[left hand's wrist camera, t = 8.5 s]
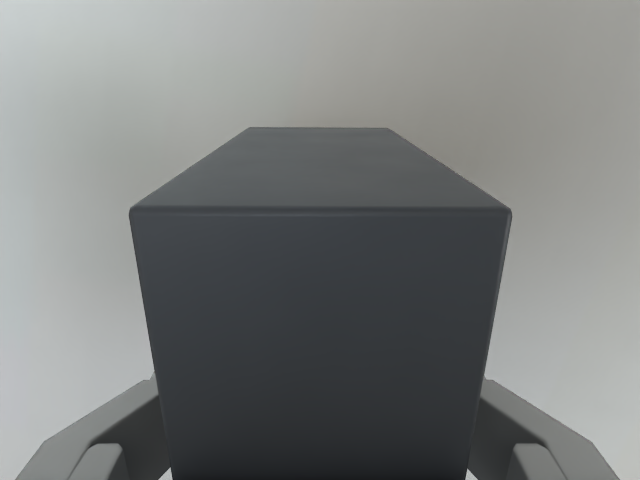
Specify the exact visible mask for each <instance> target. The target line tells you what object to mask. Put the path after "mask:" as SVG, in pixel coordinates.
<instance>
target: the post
mask: <svg viewBox="0 0 640 480" xmlns="http://www.w3.org/2000/svg"><path fill="white" fill-rule="evenodd" d="M129 219H130V225H131V231H132V237H133V243H134V249H135V255H136V261H137V267H138V273H139V279H140V286H141V292H142V298H143V304H144V310H145V316H146V322H147V328H148V334H149V340H150V346H151V352H152V358H153V364H154V370H155V376H156V382H157V388H158V394H159V400H160V406H161V412H162V418H163V424H164V430H165V436H166V442H167V448H168V454H169V460H170V466H171V472H172V478H173V480H465V478H466V472H467V467H468V461H469V456H470V450H471V444H472V439H473V433H474V428H475V422H476V416H477V411H478V405H479V400H480V394H481V388H482V383H483V377H484V372H485V366H486V360H487V355H488V349H489V344H490V338H491V332H492V327H493V321H494V316H495V310H496V304H497V299H498V293H499V288H500V282H501V276H502V271H503V265H504V260H505V254H506V248H507V243H508V237H509V232H510V226H511V221H512V212H511V209H510V208H508V207H507V206H505V205H504V204H502V203H501V202H499V201H498V200H496V199H495V198H493V197H492V196H490V195H489V194H487V193H486V192H484V191H483V190H481V189H480V188H478V187H477V186H475V185H474V184H472V183H471V182H469V181H468V180H466V179H465V178H463V177H462V176H460V175H458V174H457V173H455V172H454V171H452V170H451V169H449V168H448V167H446V166H445V165H443V164H442V163H440V162H439V161H437V160H436V159H434V158H433V157H431V156H430V155H428V154H427V153H425V152H424V151H422V150H421V149H419V148H418V147H416V146H415V145H413V144H412V143H410V142H409V141H407V140H406V139H404V138H402V137H401V136H399V135H398V134H396V133H395V132H393V131H392V130H390V129H388V128H278V127H250V128H247V129H246V130H245V131H243V132H242V133H240V134H239V135H237V136H236V137H234V138H233V139H231V140H230V141H228V142H227V143H225V144H224V145H222V146H221V147H219V148H218V149H216V150H215V151H213V152H212V153H210V154H209V155H208V156H206V157H205V158H203V159H202V160H200V161H199V162H197V163H196V164H194V165H193V166H191V167H190V168H188V169H187V170H185V171H184V172H182V173H181V174H179V175H178V176H176V177H175V178H173V179H172V180H170V181H169V182H168V183H166V184H165V185H163V186H162V187H160V188H159V189H157V190H156V191H154V192H153V193H151V194H150V195H148V196H147V197H145V198H144V199H142V200H141V201H139V202H138V203H136V204H135V205H133V206H132V207H131V208H130V211H129Z"/></svg>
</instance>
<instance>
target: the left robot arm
mask: <svg viewBox="0 0 640 480" xmlns="http://www.w3.org/2000/svg"><path fill="white" fill-rule="evenodd" d="M170 467H171V466H170V460H169V454H168V448H167V442H166V436H165V430H164V424H163V418H162V412H161V406H160V400H159V394H158V388H157V382H156V376H155V371H154V373H153V375H152V377H151V378H150V380H143V381H141V382H140V383H138V384H136V385H135V386H133V387H131V388H130V389H128V390H127V391H125V392H123V393H122V394H120V395H119V396H117V397H115V398H114V399H112V400H110V401H109V402H107V403H106V404H104V405H102V406H101V407H99V408H97V409H96V410H94V411H93V412H91V413H89V414H88V415H86V416H85V417H83V418H81V419H80V420H78V421H76V422H75V423H73V424H72V425H70V426H68V427H67V428H65V429H64V430H62V431H60V432H59V433H57V434H55V435H54V436H52V437H51V438H49V439H47V440H46V441H44V442H43V444H42V445H41V446H40V448H39V449H38V450H37V451H36V453H35V454H34V455H33V457H32V458H31V459H30V461H29V462H28V463H27V465H26V466H25V467H24V469H23V470H22V471H21V473H20V474H19V475H18V477H17V478H16V479H15V480H158V479H159V478H160V477H161V476H162V475H163V474H164V473H165V472H166V471H167V470H168V469H169V468H170ZM467 468H468V469H469V471H470V472H471V473H472V474H473V475H474V476H475V477H476V478H477V479H478V480H620V479H619V478H618V477H617V475H616V474H615V473H614V471H613V470H612V469H611V467H610V466H609V464H608V463H607V462H606V460H605V459H604V458H603V456H602V455H601V454H600V452H599V451H598V450H597V448H596V447H595V446H594V444H593V443H592V442H591V441H589V440H588V439H586V438H584V437H583V436H581V435H580V434H578V433H576V432H575V431H573V430H572V429H570V428H568V427H567V426H565V425H564V424H562V423H560V422H559V421H557V420H556V419H554V418H552V417H551V416H549V415H548V414H546V413H545V412H543V411H541V410H540V409H538V408H537V407H535V406H533V405H532V404H530V403H529V402H527V401H525V400H524V399H522V398H521V397H519V396H517V395H516V394H514V393H513V392H511V391H509V390H508V389H506V388H505V387H503V386H501V385H500V384H498V383H497V382H495V381H493V380H486V378H485V376H484V377H483V383H482V388H481V394H480V400H479V405H478V411H477V416H476V422H475V428H474V433H473V439H472V444H471V450H470V456H469V461H468V467H467Z"/></svg>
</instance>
